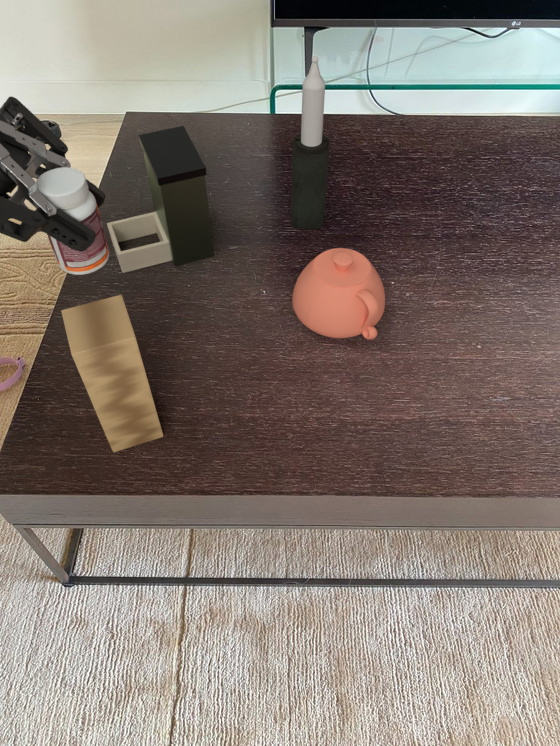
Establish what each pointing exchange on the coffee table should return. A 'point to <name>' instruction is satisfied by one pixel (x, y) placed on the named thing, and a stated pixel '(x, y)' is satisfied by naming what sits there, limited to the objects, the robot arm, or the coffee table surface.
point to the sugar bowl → (339, 295)
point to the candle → (310, 156)
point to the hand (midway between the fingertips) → (94, 222)
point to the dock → (142, 254)
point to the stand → (112, 371)
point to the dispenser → (179, 193)
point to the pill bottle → (77, 201)
